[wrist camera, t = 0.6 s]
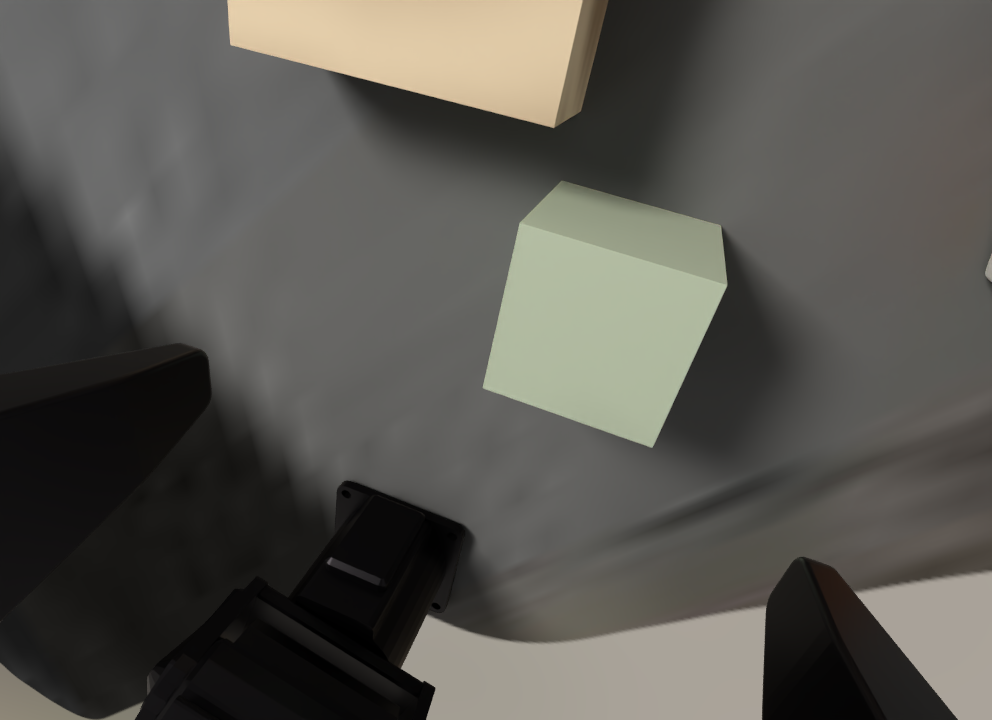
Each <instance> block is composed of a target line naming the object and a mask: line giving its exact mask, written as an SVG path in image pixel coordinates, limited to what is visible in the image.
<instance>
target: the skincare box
mask: <svg viewBox="0 0 992 720" xmlns="http://www.w3.org/2000/svg"><path fill="white" fill-rule="evenodd" d="M985 275H986V277H987V279H988V280H990V281H991V282H992V255H991V258H990V260H989V262H988V265H987V268H986V272H985Z"/></svg>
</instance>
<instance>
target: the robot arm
mask: <svg viewBox="0 0 992 720" xmlns="http://www.w3.org/2000/svg"><path fill="white" fill-rule="evenodd" d="M211 396H212V388H211V378H210V369H209V360H208V356H207V355H206V353H205V352H204V351H203V350H201V349H198V348H195V347H192V346H189V345H186V344H183V343H175V344H169V345H164V346H158V347H152V348H147V349H141V350H136V351H130V352H124V353H119V354H113V355H107V356H102V357H96V358H90V359H85V360H79V361H73V362H68V363H62V364H56V365H51V366H45V367H39V368H34V369H28V370H23V371H17V372H11V373H6V374H0V622H1V621H2V620H3V619H4V618H5V617H6V616H7V615H8V614H9V613H10V612H11V611H12V610H13V609H14V608H15V607H16V606H17V605H18V604H19V603H20V602H21V601H22V600H23V599H24V598H25V597H26V596H27V595H28V594H29V593H30V592H32V591H33V590H34V589H35V588H36V587H37V586H38V585H39V584H40V583H41V582H42V581H43V580H44V579H45V578H46V577H47V576H48V575H49V574H50V573H51V572H52V571H53V570H54V569H55V568H56V567H57V566H58V565H59V564H60V563H61V562H62V561H63V560H64V559H65V558H66V557H67V556H68V555H70V554H71V553H72V552H73V551H74V550H75V549H76V548H77V547H78V546H79V545H80V544H81V543H82V542H83V541H84V540H85V539H86V538H87V537H88V536H89V535H90V534H91V533H92V532H93V531H94V530H95V529H96V528H97V527H98V526H99V525H100V524H101V523H102V522H103V521H104V520H105V519H106V518H108V517H109V516H110V515H111V514H112V513H113V512H114V511H115V510H116V509H117V508H118V507H119V506H120V505H121V504H122V503H123V502H124V501H125V500H126V499H127V498H128V497H129V496H130V495H131V494H132V493H133V492H134V491H135V490H136V489H137V488H138V487H139V486H140V485H141V484H142V483H143V482H144V481H145V480H146V479H147V478H148V476H149V475H150V474H151V473H152V472H153V471H154V470H155V469H156V467H157V466H158V465H159V464H160V463H161V461H162V460H163V459H164V458H165V457H166V456H167V454H168V453H169V452H170V451H171V450H172V448H173V447H174V446H175V445H176V444H177V443H178V441H179V440H180V439H181V438H182V437H183V436H184V434H185V433H186V432H187V431H188V430H189V428H190V427H191V426H192V425H193V424H194V423H195V421H196V420H197V419H198V418H199V417H200V415H201V414H202V413H203V412H204V411H205V410H206V408H207V407H208V405H209V403H210V400H211ZM453 533H454V534H453ZM464 536H465V531H464V529H463V527H461V526H460V525H459V524H457V523H455V522H452V521H450V520H447V519H445V518H442V517H440V516H437V515H434V514H432V513H429V512H427V511H424V510H422V509H419V508H417V507H414V506H412V505H409V504H407V503H404V502H402V501H399V500H397V499H394V498H392V497H389V496H387V495H384V494H382V493H379V492H376V491H374V490H371V489H369V488H366V487H364V486H361V485H359V484H356V483H354V482H351V481H344V482H342V484H341V485H340V486H339V487H338V489H337V500H336V518H335V535H334V536H333V538H332V539H331V540H330V542H329V543H328V544H327V546H326V547H325V548H324V550H323V551H322V552H321V554H320V555H319V557H318V558H317V559H316V561H315V562H314V563H313V565H312V566H311V567H310V569H309V570H308V571H307V573H306V574H305V575H304V577H303V578H302V580H301V581H300V582H299V584H298V585H297V586H296V588H295V589H294V590H293V592H292V593H291V594H290V596H289V597H288V598H287V597H286V596H284V595H282V594H281V593H279V592H278V591H276V590H274V589H273V588H271V587H270V586H268V582H266V581H265V580H263V579H262V578H260V577H258V576H257V577H255V579H254V580H253V581H252V582H251V583H250V584H249V585H248V586H247V587H246V588H245V589H234V590H233V592H232V593H231V594H230V595H229V596H228V597H227V599H226V600H225V601H224V602H223V603H222V604H221V606H220V607H219V608H218V609H217V610H216V611H215V613H214V614H213V615H212V616H211V617H210V618H209V619H208V620H207V621H206V622H205V623H204V624H203V625H202V626H201V627H200V628H199V629H198V630H196V631H195V632H194V633H193V634H192V635H190V636H189V637H188V638H187V639H186V640H184V641H183V642H182V643H181V644H180V645H179V646H177V647H176V648H175V649H174V650H173V651H171V652H170V653H169V654H168V655H167V656H166V657H164V658H163V659H162V660H161V661H160V662H159V663H157V665H156V666H155V667H154V668H153V669H152V671H151V672H150V674H149V675H148V677H147V688H148V696H147V697H146V699H145V700H144V702H143V704H142V706H141V709H140V712H139V714H138V715H137V717H136V719H135V720H426V717H427V714H428V711H429V708H430V705H431V701H432V698H433V695H434V692H435V687H434V686H432V685H430V684H429V683H427V682H425V681H424V682H421V681H419V680H418V679H416V678H415V677H413V676H411V675H410V674H408V673H407V672H405V671H403V670H402V669H401V667H402V665H403V663H404V661H405V659H406V657H407V654H408V652H409V650H410V648H411V646H412V644H413V642H414V640H415V638H416V636H417V634H418V631H419V629H420V627H421V625H422V623H423V621H424V619H425V617H426V615H427V613H428V611H429V609H430V610H432V611H434V612H437V613H442V612H444V611H445V609H446V606H447V604H448V601H449V597H450V593H451V588H452V584H453V580H454V576H455V572H456V568H457V564H458V560H459V556H460V552H461V548H462V544H463V540H464ZM762 720H958V719H957V718H956V717H955V716H954V715H953V713H952V712H951V711H950V710H949V709H948V707H947V706H946V705H945V703H944V702H943V701H942V700H941V698H940V697H939V696H938V695H937V693H936V692H935V691H934V690H933V689H932V687H931V686H930V685H929V684H928V683H927V681H926V680H925V679H924V678H923V676H922V675H921V674H920V673H919V671H918V670H917V669H916V668H915V666H914V665H913V664H912V663H911V662H910V661H909V659H908V658H907V657H906V656H905V654H904V653H903V652H902V651H901V649H900V648H899V647H898V646H897V644H896V643H895V642H894V641H893V640H892V638H891V637H890V636H889V635H888V633H887V632H886V631H885V630H884V628H883V627H882V626H881V625H880V624H879V622H878V621H877V620H876V619H875V617H874V616H873V615H872V614H871V613H870V611H869V610H868V609H867V608H866V606H864V604H863V603H862V601H861V600H860V599H859V598H858V597H857V595H856V594H855V593H854V592H853V590H852V589H851V588H850V587H849V586H848V584H847V583H846V582H845V581H844V579H843V578H842V577H841V576H840V574H839V573H838V572H837V571H836V570H835V569H834V568H833V567H831V566H829V565H826V564H823V563H820V562H818V561H815V560H812V559H809V558H806V557H799V558H797V559H795V560H794V561H793V562H792V563H791V565H790V566H789V568H788V569H787V571H786V572H785V574H784V575H783V577H782V578H781V580H780V581H779V583H778V584H777V586H776V587H775V588H774V590H773V591H772V593H771V595H770V597H769V599H768V603H767V608H766V622H765V649H764V675H763V703H762Z"/></svg>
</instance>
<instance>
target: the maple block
mask: <svg viewBox="0 0 992 720" xmlns="http://www.w3.org/2000/svg"><path fill="white" fill-rule="evenodd" d="M607 4H608V0H228V15H229V30H230V45H233V46H237V47H241V48H245V49H249V50H252V51H256V52H260V53H264V54H268V55H272V56H276V57H280V58H284V59H287V60H291V61H295V62H299V63H303V64H307V65H311V66H315V67H319V68H323V69H326V70H330V71H334V72H338V73H342V74H346V75H350V76H354V77H358V78H361V79H365V80H369V81H373V82H377V83H381V84H385V85H389V86H393V87H397V88H400V89H404V90H408V91H412V92H416V93H420V94H424V95H428V96H432V97H435V98H439V99H443V100H447V101H451V102H455V103H459V104H463V105H467V106H471V107H474V108H478V109H482V110H486V111H490V112H494V113H498V114H502V115H506V116H509V117H513V118H517V119H521V120H525V121H529V122H533V123H537V124H541V125H545V126H548V127H552V128H555V127H556V126H558V125H560V124H561V123H563V122H564V121H566V120H568V119H569V118H571V117H573V116H574V115H576V114H578V113H579V112H581V109H582V105H583V101H584V97H585V93H586V89H587V85H588V81H589V77H590V73H591V69H592V65H593V61H594V57H595V53H596V49H597V45H598V41H599V37H600V33H601V29H602V24H603V20H604V16H605V12H606V8H607Z"/></svg>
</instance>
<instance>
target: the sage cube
mask: <svg viewBox="0 0 992 720" xmlns="http://www.w3.org/2000/svg"><path fill="white" fill-rule="evenodd" d="M726 287H727V276H726V267H725V258H724V248H723V239H722V230H721V225H717V224H714V223H710V222H706V221H703V220H699V219H696V218H692V217H689V216H685V215H682V214H678V213H675V212H671V211H668V210H664V209H661V208H657V207H654V206H650V205H647V204H643V203H640V202H636V201H633V200H629V199H626V198H622V197H618V196H615V195H611V194H608V193H604V192H601V191H597V190H594V189H590V188H587V187H583V186H580V185H576V184H573V183H569V182H566V181H561V182H560V183H559V184H558V185H557V186H556V187H555V188H554V189H553V190H552V191H551V192H550V193H549V194H548V195H547V196H546V197H545V198H544V199H543V200H542V201H541V202H540V203H539V204H538V205H537V206H536V207H535V208H534V209H533V210H532V211H531V212H530V213H529V214H528V215H527V216H526V217H525V218H524V219H523V220H522V221H521V222H520V225H519V229H518V234H517V238H516V242H515V247H514V251H513V256H512V260H511V265H510V269H509V274H508V278H507V282H506V287H505V291H504V296H503V300H502V305H501V309H500V314H499V318H498V322H497V327H496V331H495V336H494V340H493V345H492V349H491V354H490V358H489V362H488V367H487V371H486V376H485V380H484V385H483V388H484V389H487V390H489V391H492V392H495V393H498V394H501V395H504V396H507V397H509V398H512V399H515V400H518V401H521V402H524V403H526V404H529V405H532V406H535V407H538V408H541V409H543V410H546V411H549V412H552V413H555V414H558V415H560V416H563V417H566V418H569V419H572V420H575V421H577V422H580V423H583V424H586V425H589V426H592V427H594V428H597V429H600V430H603V431H606V432H609V433H611V434H614V435H617V436H620V437H623V438H626V439H628V440H631V441H634V442H637V443H640V444H643V445H645V446H648V447H651V448H653V446H654V443H655V441H656V439H657V437H658V435H659V433H660V430H661V428H662V426H663V424H664V422H665V420H666V417H667V415H668V413H669V411H670V409H671V407H672V404H673V402H674V400H675V398H676V396H677V394H678V391H679V389H680V387H681V385H682V383H683V380H684V378H685V376H686V374H687V372H688V370H689V367H690V365H691V363H692V361H693V359H694V357H695V354H696V352H697V350H698V348H699V346H700V344H701V341H702V339H703V337H704V335H705V333H706V331H707V328H708V326H709V324H710V322H711V320H712V318H713V315H714V313H715V311H716V309H717V307H718V305H719V302H720V300H721V298H722V296H723V294H724V292H725V289H726Z"/></svg>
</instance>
